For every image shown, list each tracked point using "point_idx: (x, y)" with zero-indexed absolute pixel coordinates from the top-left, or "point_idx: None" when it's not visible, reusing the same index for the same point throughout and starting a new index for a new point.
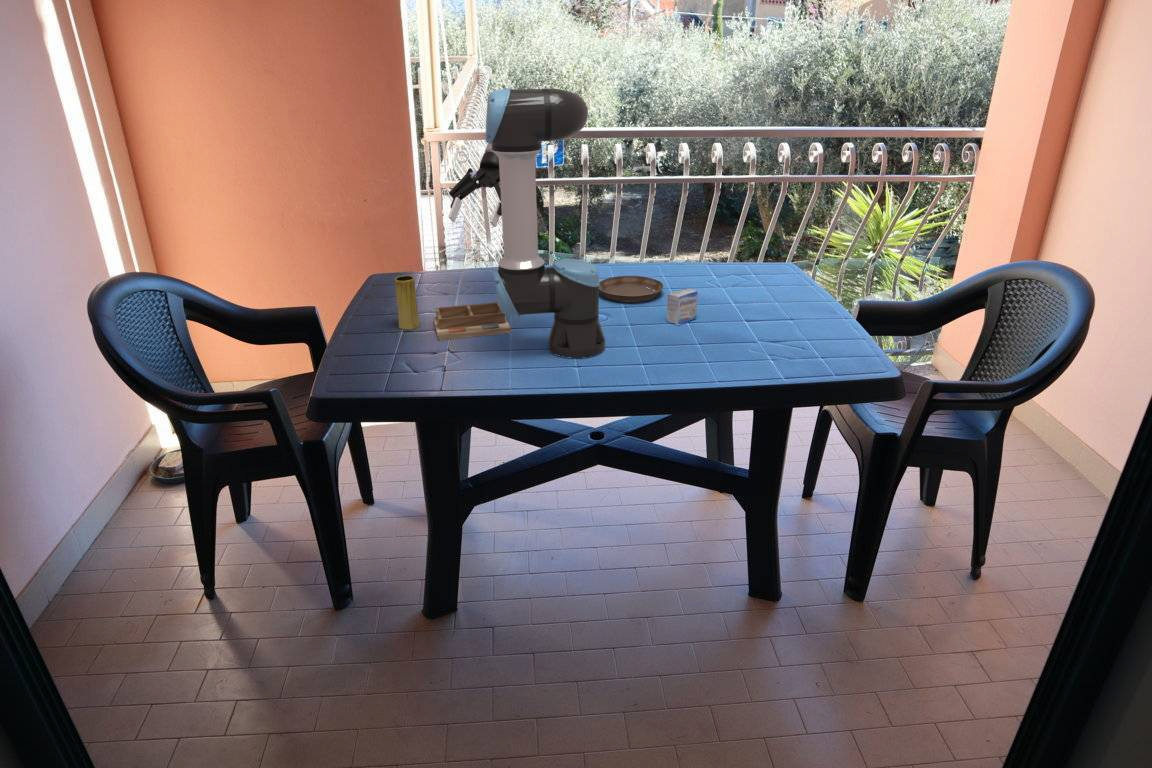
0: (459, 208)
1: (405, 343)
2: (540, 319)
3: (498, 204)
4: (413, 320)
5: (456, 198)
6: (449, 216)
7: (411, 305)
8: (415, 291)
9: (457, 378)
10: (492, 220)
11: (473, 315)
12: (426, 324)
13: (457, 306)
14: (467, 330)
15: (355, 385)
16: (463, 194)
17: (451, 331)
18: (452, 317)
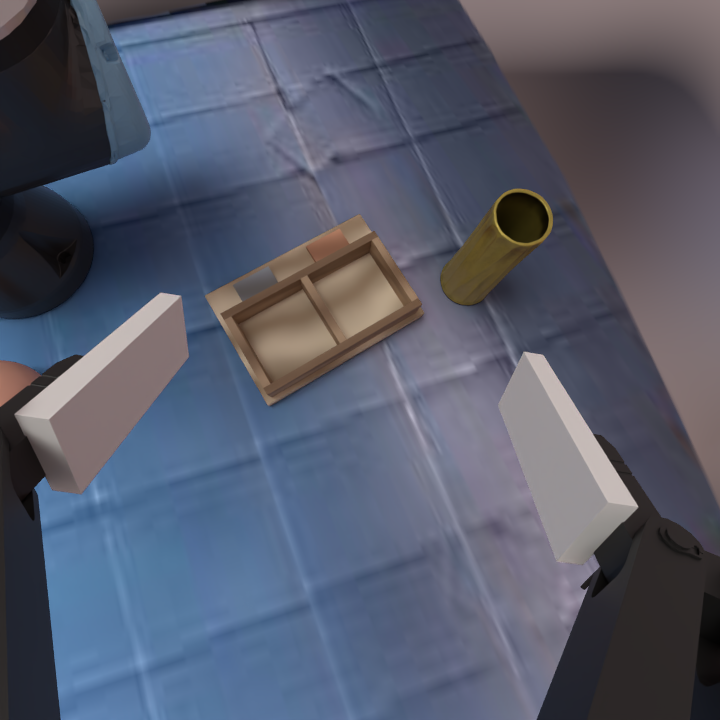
0: (534, 491)
1: (420, 191)
2: (159, 407)
3: (44, 389)
4: (452, 261)
5: (614, 489)
6: (533, 354)
7: (466, 242)
8: (479, 255)
9: (241, 68)
10: (153, 299)
11: (299, 277)
12: (432, 300)
13: (369, 328)
14: (305, 255)
15: (408, 14)
16: (598, 606)
17: (335, 231)
18: (347, 251)
